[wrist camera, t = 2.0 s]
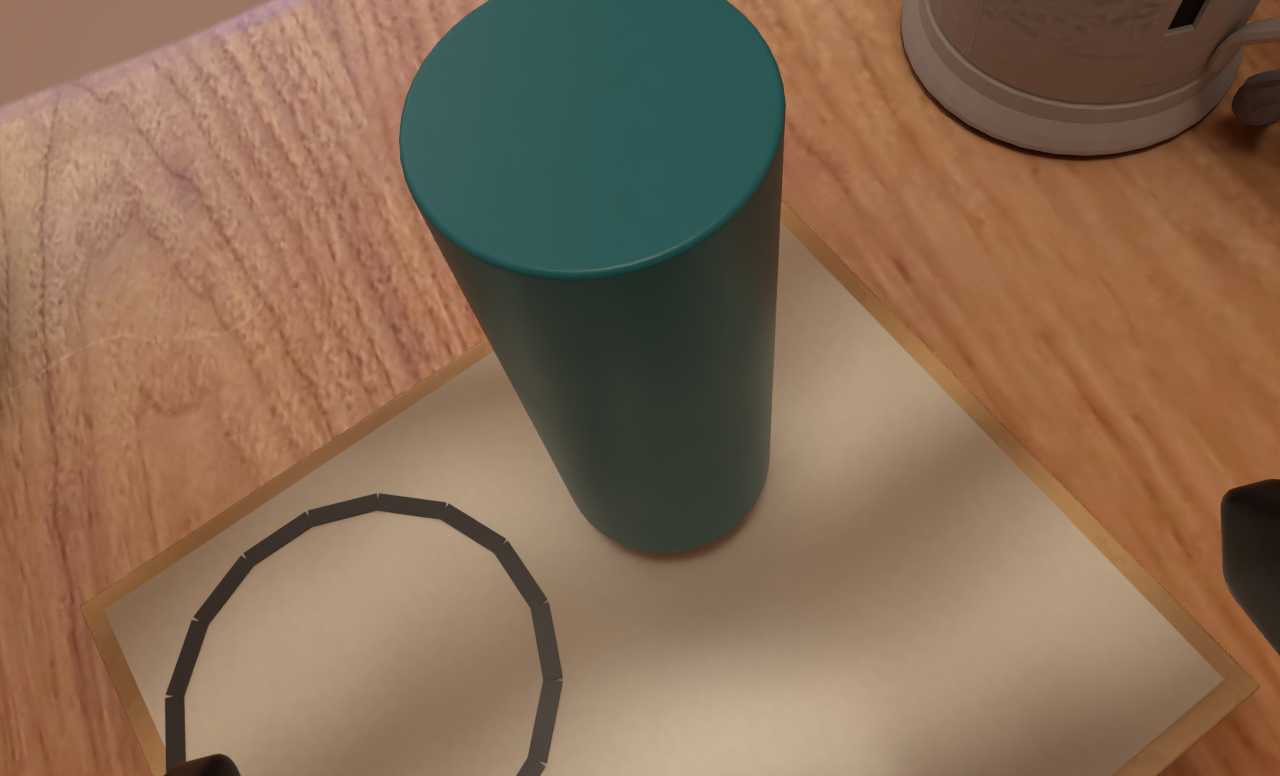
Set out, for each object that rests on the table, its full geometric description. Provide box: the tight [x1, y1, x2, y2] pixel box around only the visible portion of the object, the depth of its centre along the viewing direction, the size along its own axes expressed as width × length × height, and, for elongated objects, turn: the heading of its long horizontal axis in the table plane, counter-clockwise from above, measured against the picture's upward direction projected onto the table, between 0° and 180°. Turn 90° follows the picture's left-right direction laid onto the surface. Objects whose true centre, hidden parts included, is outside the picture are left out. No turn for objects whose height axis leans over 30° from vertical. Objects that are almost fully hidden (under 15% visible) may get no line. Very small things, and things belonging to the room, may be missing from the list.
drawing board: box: [80, 199, 1259, 776], centre depth 21 cm, size 16×19×1 cm
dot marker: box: [399, 0, 786, 553], centre depth 16 cm, size 4×4×12 cm
